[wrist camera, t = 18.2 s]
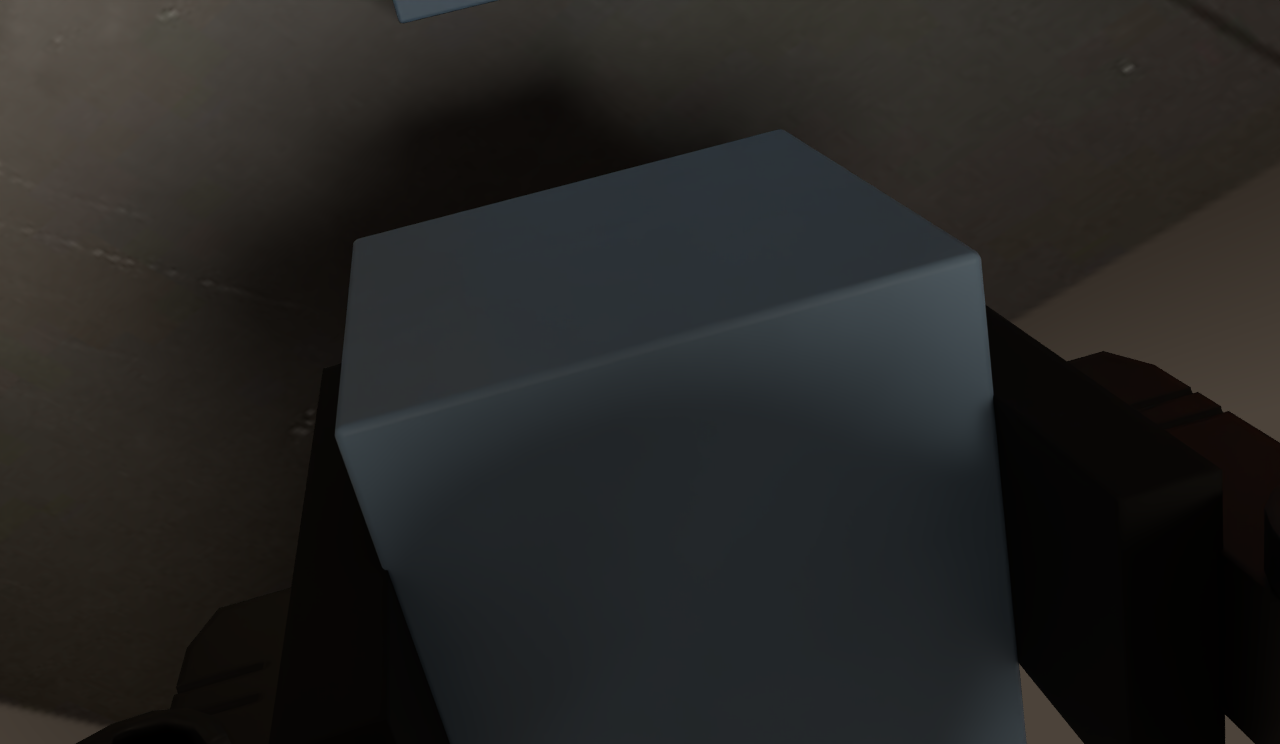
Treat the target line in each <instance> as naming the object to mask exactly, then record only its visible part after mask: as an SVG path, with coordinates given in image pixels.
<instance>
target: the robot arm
mask: <svg viewBox="0 0 1280 744" xmlns="http://www.w3.org/2000/svg"><path fill="white" fill-rule="evenodd" d="M985 308H986V318H987V329H988V340H989V350H990V361H991V372H992V382H993V393H994V395H993V401H994V412H995V422H996V433H997V444H998V454H999V465H1000V476H1001V486H1002V497H1003V507H1004V518H1005V529H1006V539H1007V550H1008V560H1009V571H1010V582H1011V592H1012V603H1013V613H1014V624H1015V635H1016V645H1017V656H1018V663H1019V664H1020V665H1021V666H1022V667H1023V669H1024V670H1025V671H1026V673H1027V674H1028V675H1029V676H1030V677H1031V679H1032V680H1033V681H1034V682H1035V684H1036V685H1037V686H1038V687H1039V688H1040V690H1041V691H1042V692H1043V693H1044V695H1045V696H1046V697H1047V698H1048V700H1049V701H1050V702H1051V703H1052V705H1053V706H1054V707H1055V708H1056V709H1057V711H1058V712H1059V713H1060V714H1061V715H1062V717H1063V718H1064V719H1065V721H1066V722H1067V723H1068V724H1069V726H1070V727H1071V728H1072V729H1073V730H1074V732H1075V733H1076V734H1077V735H1078V737H1079V738H1080V739H1081V740H1082V741H1083V743H1084V744H1225V715H1226V716H1227V717H1229V719H1231V721H1233V723H1235V725H1237V726H1238V728H1240V729H1241V730H1242V731H1243V732H1244V733H1245V734H1246V735H1247V736H1248V737H1249V738H1250V739H1251V740H1252V741H1253V742H1254V743H1255V744H1280V443H1279V442H1278V441H1276V440H1274V439H1273V438H1271V437H1269V436H1268V435H1266V434H1265V433H1263V432H1262V431H1260V430H1258V429H1257V428H1255V427H1253V426H1252V425H1250V424H1249V423H1247V422H1245V421H1244V420H1242V419H1241V418H1239V417H1237V416H1236V415H1234V414H1233V413H1231V412H1229V411H1227V412H1224V413H1223V412H1222V409H1221V406H1219V405H1218V404H1216V403H1215V402H1213V401H1212V400H1210V399H1208V398H1207V397H1205V396H1204V395H1202V394H1200V393H1198V392H1196V393H1192V391H1191V387H1189V386H1187V385H1186V384H1184V383H1182V382H1181V381H1179V380H1178V379H1176V378H1174V377H1173V376H1171V375H1170V374H1168V373H1167V372H1165V371H1163V370H1162V369H1160V368H1158V367H1157V366H1155V365H1153V364H1149V363H1145V362H1142V361H1138V360H1134V359H1131V358H1127V357H1123V356H1119V355H1115V354H1112V353H1108V352H1104V351H1102V352H1099V353H1095V354H1092V355H1088V356H1085V357H1081V358H1078V359H1074V360H1071V361H1065V360H1064V359H1062V358H1061V357H1059V356H1058V355H1057V354H1055V353H1054V352H1052V351H1051V350H1050V349H1048V348H1047V347H1045V346H1044V345H1042V344H1041V343H1040V342H1038V341H1037V340H1035V339H1034V338H1032V337H1031V336H1029V335H1028V334H1026V333H1025V332H1024V331H1022V330H1021V329H1019V328H1018V327H1017V326H1015V325H1014V324H1012V323H1011V322H1009V321H1008V320H1007V319H1005V318H1004V317H1002V316H1001V315H999V314H998V313H996V312H995V311H994V310H992V309H991V308H989V307H988V306H986V305H985ZM341 365H342V364H338V365H335V366H331V367H327V368H324V369H323V374H322V381H321V388H320V395H319V402H318V409H317V415H316V422H315V429H314V436H313V443H312V450H311V457H310V464H309V470H308V477H307V484H306V491H305V498H304V505H303V512H302V518H301V525H300V532H299V539H298V546H297V553H296V560H295V566H294V573H293V580H292V587H291V588H287V589H284V590H280V591H277V592H273V593H270V594H266V595H263V596H259V597H256V598H252V599H249V600H246V601H242V602H239V603H235V604H232V605H228V606H225V607H221V608H219V609H218V610H217V611H216V612H215V614H214V615H213V616H212V617H211V619H210V620H209V621H208V622H207V624H206V625H205V626H204V627H203V629H202V630H201V631H200V632H199V634H198V635H197V636H196V637H195V639H194V640H193V641H192V642H191V644H190V645H189V646H188V647H187V649H186V653H185V657H184V660H183V664H182V668H181V671H180V675H179V679H178V682H177V686H176V688H177V693H178V694H176V695H174V697H173V701H172V704H171V708H170V709H168V710H155V711H150V712H147V713H144V714H141V715H138V716H135V717H132V718H129V719H126V720H122V721H119V722H116V723H113V724H111V725H109V726H107V727H105V728H104V729H102V730H100V731H98V732H96V733H95V734H93V735H91V736H89V737H87V738H86V739H83V740H82V741H80V742H78V743H76V744H450V742H449V740H448V737H447V734H446V731H445V729H444V726H443V723H442V720H441V717H440V715H439V712H438V709H437V706H436V703H435V701H434V698H433V695H432V692H431V690H430V687H429V684H428V681H427V678H426V676H425V673H424V670H423V667H422V664H421V662H420V659H419V656H418V653H417V651H416V648H415V645H414V642H413V639H412V637H411V634H410V631H409V628H408V625H407V623H406V620H405V617H404V614H403V612H402V609H401V606H400V603H399V600H398V598H397V595H396V592H395V589H394V586H393V584H392V581H391V578H390V575H389V573H388V570H384V569H383V568H382V566H381V563H380V560H379V557H378V555H377V552H376V549H375V546H374V544H373V541H372V538H371V535H370V533H369V530H368V527H367V524H366V521H365V519H364V516H363V513H362V510H361V508H360V505H359V502H358V499H357V497H356V494H355V491H354V488H353V485H352V483H351V480H350V477H349V474H348V472H347V469H346V466H345V463H344V461H343V458H342V455H341V452H340V449H339V447H338V444H337V441H336V438H335V426H336V416H337V406H338V396H339V386H340V375H341Z"/></svg>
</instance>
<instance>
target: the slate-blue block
mask: <svg viewBox="0 0 1280 744" xmlns="http://www.w3.org/2000/svg"><path fill="white" fill-rule="evenodd" d="M993 395H994V393H993V382H992V372H991V361H990V350H989V340H988V329H987V318H986V308H985V297H984V286H983V276H982V265H981V258H980V256H979V254H978V252H977V251H975V250H973V249H972V248H970V247H969V246H967V245H965V244H964V243H962V242H961V241H959V240H958V239H956V238H954V237H953V236H951V235H950V234H948V233H946V232H945V231H943V230H942V229H940V228H938V227H937V226H935V225H934V224H932V223H931V222H929V221H927V220H926V219H924V218H923V217H921V216H919V215H918V214H916V213H915V212H913V211H912V210H910V209H908V208H907V207H905V206H904V205H902V204H900V203H899V202H897V201H896V200H894V199H892V198H891V197H889V196H888V195H886V194H885V193H883V192H881V191H880V190H878V189H877V188H875V187H873V186H872V185H870V184H869V183H867V182H866V181H864V180H862V179H861V178H859V177H858V176H856V175H854V174H853V173H851V172H850V171H848V170H847V169H845V168H843V167H842V166H840V165H839V164H837V163H835V162H834V161H832V160H831V159H829V158H827V157H826V156H824V155H823V154H821V153H820V152H818V151H816V150H815V149H813V148H812V147H810V146H808V145H807V144H805V143H804V142H802V141H801V140H799V139H797V138H796V137H794V136H793V135H791V134H789V133H788V132H786V131H785V130H780V129H778V130H775V131H771V132H767V133H763V134H759V135H755V136H752V137H748V138H744V139H740V140H736V141H732V142H729V143H725V144H721V145H717V146H713V147H709V148H705V149H702V150H698V151H694V152H690V153H686V154H682V155H679V156H675V157H671V158H667V159H663V160H659V161H655V162H652V163H648V164H644V165H640V166H636V167H632V168H629V169H625V170H621V171H617V172H613V173H609V174H605V175H602V176H598V177H594V178H590V179H586V180H582V181H579V182H575V183H571V184H567V185H563V186H559V187H556V188H552V189H548V190H544V191H540V192H536V193H532V194H529V195H525V196H521V197H517V198H513V199H509V200H506V201H502V202H498V203H494V204H490V205H486V206H482V207H479V208H475V209H471V210H467V211H463V212H459V213H456V214H452V215H448V216H444V217H440V218H436V219H432V220H429V221H425V222H421V223H417V224H413V225H409V226H406V227H402V228H398V229H394V230H390V231H386V232H383V233H379V234H375V235H371V236H367V237H363V238H359V239H357V240H356V241H354V243H353V254H352V264H351V274H350V284H349V294H348V304H347V314H346V325H345V335H344V345H343V355H342V365H341V375H340V386H339V396H338V406H337V416H336V426H335V438H336V441H337V444H338V447H339V449H340V452H341V455H342V458H343V461H344V463H345V466H346V469H347V472H348V474H349V477H350V480H351V483H352V485H353V488H354V491H355V494H356V497H357V499H358V502H359V505H360V508H361V510H362V513H363V516H364V519H365V521H366V524H367V527H368V530H369V533H370V535H371V538H372V541H373V544H374V546H375V549H376V552H377V555H378V557H379V560H380V563H381V566H382V568H383V569H384V570H388V573H389V575H390V578H391V581H392V584H393V586H394V589H395V592H396V595H397V598H398V600H399V603H400V606H401V609H402V612H403V614H404V617H405V620H406V623H407V625H408V628H409V631H410V634H411V637H412V639H413V642H414V645H415V648H416V651H417V653H418V656H419V659H420V662H421V664H422V667H423V670H424V673H425V676H426V678H427V681H428V684H429V687H430V690H431V692H432V695H433V698H434V701H435V703H436V706H437V709H438V712H439V715H440V717H441V720H442V723H443V726H444V729H445V731H446V734H447V737H448V740H449V742H450V744H1026V734H1025V723H1024V712H1023V702H1022V691H1021V680H1020V670H1019V663H1018V656H1017V645H1016V635H1015V624H1014V613H1013V603H1012V592H1011V582H1010V571H1009V560H1008V550H1007V539H1006V529H1005V518H1004V507H1003V497H1002V486H1001V476H1000V465H999V454H998V444H997V433H996V422H995V412H994V401H993Z"/></svg>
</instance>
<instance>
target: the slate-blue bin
mask: <svg viewBox="0 0 1280 744" xmlns="http://www.w3.org/2000/svg"><path fill="white" fill-rule="evenodd" d="M494 1H498V0H393V3H394V7H395V10H396V14H397V17H398V20H399V22H400V23H407V22H411V21H415V20H419V19H423V18H427V17H432V16H436V15H440V14H444V13H448V12H452V11H456V10H461V9H465V8H469V7H473V6H477V5H481V4H485V3H489V2H494Z"/></svg>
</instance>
